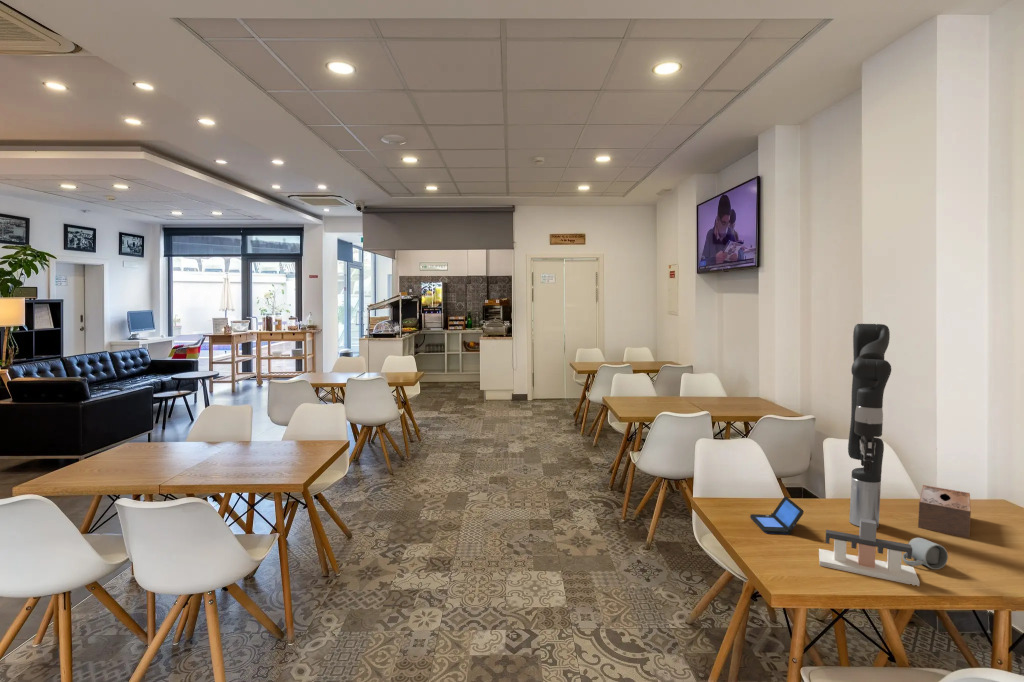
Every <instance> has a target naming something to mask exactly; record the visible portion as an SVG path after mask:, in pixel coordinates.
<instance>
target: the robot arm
mask: <svg viewBox="0 0 1024 682" xmlns="http://www.w3.org/2000/svg"><path fill="white" fill-rule="evenodd" d="M890 333H891V332H890V329H889V326H887V325H886V324H882V323H857V324H855V326H854V328H853V335H852V343H853V344H852V345H853V346H852V347H853V348H852V349H853V363H852V365H851V368H850V369H851V370H850V371H851V375H852V382H851V383H852V385H851V413H850V427H849V435H848V441H847V442H848V444H847V452H848V456H849V458H850V459H853V460H858V461H860V465H861V466H862V467H856V468H853V469H852V470H851V478H850V479H851V481H850V482H851V483H850V484H851V485H850V502H849V518H848V519H849V520H848V521H849V523H850V524H852V525H854V526H857V527H859V528H860V518H862V519H868V520H874V521H876V524H877V528H876V529H879V527H880V525H879V524H880V510H881V509H880V507H881V491H882V490H881V487H882V486H881V485H882V473H883V472H882V470H883V469H882V468H883V460H884V459H883V458H884V450H885V449H884V447H885V445H884V441H883V439H881V438H879V437H882V436H883V425H884V424H883V421H884V412H883V408H884V407H883V406H884V405H883V403H884V392H885V388H886V386H887V383H888V381H889V378H890V376H891V373H892V365H891V364H890V362H889V361H888V360H886V359H885V354H886V352H887V350H888V346H889V344H890V337H891V336H890V335H891V334H890Z"/></svg>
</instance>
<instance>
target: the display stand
mask: <svg viewBox="0 0 1024 682" xmlns="http://www.w3.org/2000/svg"><path fill="white" fill-rule="evenodd" d="M833 540H834V541H833V542H834V543H833V550H828V549H822V548H818V557H819V566H820V567H825V568H829V569H834V570H838V571H843V572H849V573H854V574H856V575H857V574H858V575H863V576H868V577H873V578H878V579H882V580H887V581H892V582H897V583H901V584H907V585H910V584H912V585H911V586H915V585H917V586H916V587H920V579H919V577H918V575H917V572H916V570H915V568H914V566H912V565H904V564H902V560H903V552H902V551H896V550H891V549H887V553H886V554H887V557H886V561H885V560H884V561H883V560H879V559H876V550H877V549H876V548H877V547H875V546H869V545H864V544H859V543H858V550H857V551H858V553H857V555H853V554H848V553H847V542H848V541H842V540H837V539H833Z"/></svg>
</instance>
